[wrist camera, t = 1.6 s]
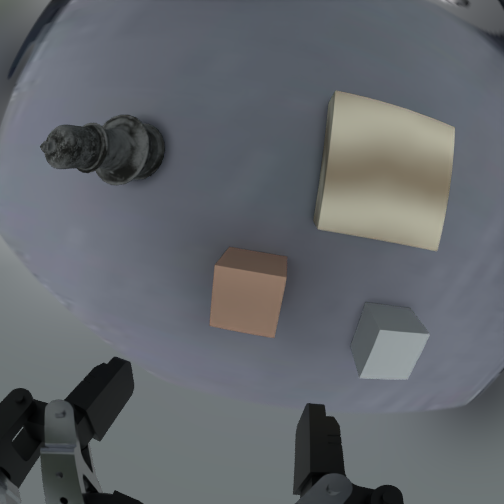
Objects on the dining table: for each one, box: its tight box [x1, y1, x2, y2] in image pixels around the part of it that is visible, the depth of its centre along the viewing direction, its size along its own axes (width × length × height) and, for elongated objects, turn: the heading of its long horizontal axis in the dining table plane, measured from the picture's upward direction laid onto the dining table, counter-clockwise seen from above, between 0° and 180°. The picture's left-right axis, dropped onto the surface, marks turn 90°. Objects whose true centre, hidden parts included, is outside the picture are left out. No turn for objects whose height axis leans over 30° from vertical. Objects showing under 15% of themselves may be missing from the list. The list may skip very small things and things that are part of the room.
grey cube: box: [350, 302, 430, 380], centre depth 22 cm, size 5×5×5 cm
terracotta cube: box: [210, 247, 287, 338], centre depth 22 cm, size 5×5×5 cm
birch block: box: [313, 91, 455, 251], centre depth 19 cm, size 10×10×4 cm
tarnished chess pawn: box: [40, 115, 165, 185], centre depth 17 cm, size 6×6×12 cm
